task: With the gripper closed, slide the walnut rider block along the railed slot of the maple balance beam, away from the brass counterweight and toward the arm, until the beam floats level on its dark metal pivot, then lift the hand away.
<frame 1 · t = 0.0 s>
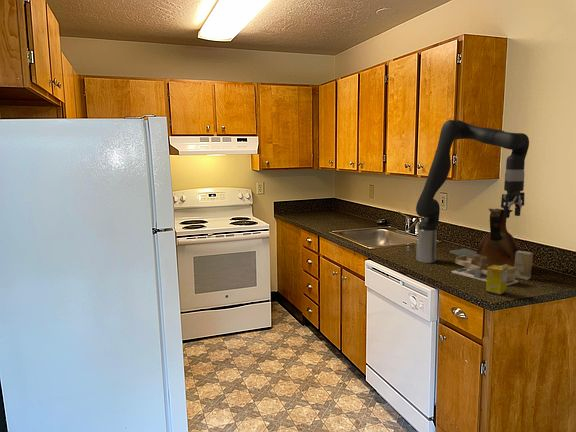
hand: (512, 216, 190), 29 cm above the worktop, fingers open, 8 cm apart
rider: (478, 266, 202), point 5 cm above the worktop, tilted 7°, touching beam
skincare box: (522, 278, 199), on the worktop
supplement box: (496, 293, 179), on the worktop
ceramic pitcher: (497, 267, 217), on the worktop
stand: (483, 277, 201), on the worktop
soap mold: (468, 257, 241), on the worktop
beam: (484, 265, 200), point 6 cm above the worktop, hinge at 7.0°, touching rider
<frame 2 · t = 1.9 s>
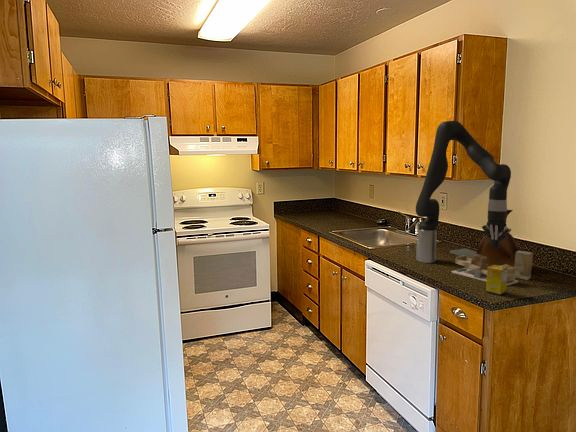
hand: (495, 247, 194), 15 cm above the worktop, fingers closed
nothing on the worktop moved.
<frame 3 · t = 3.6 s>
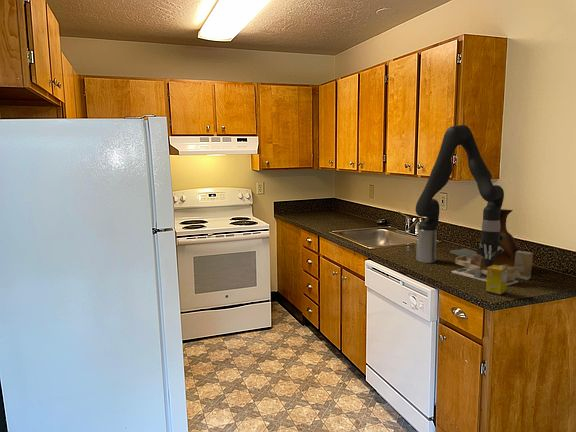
hand: (489, 266, 198), 5 cm above the worktop, fingers closed
rider: (477, 266, 203), point 5 cm above the worktop, tilted 6°, touching beam, gripper
beam: (484, 265, 200), point 6 cm above the worktop, hinge at 6.5°, touching rider
everything else where it was.
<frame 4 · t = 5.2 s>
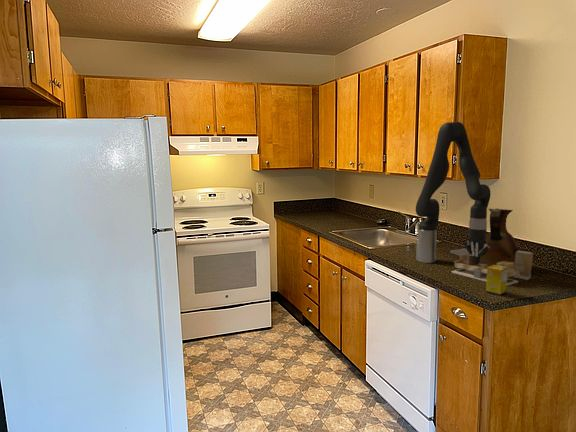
hand: (476, 263, 203), 6 cm above the worktop, fingers closed
rider: (466, 265, 207), point 4 cm above the worktop, touching beam, gripper
beam: (483, 264, 200), point 6 cm above the worktop, hinge at -2.1°, touching rider
everything else where it was.
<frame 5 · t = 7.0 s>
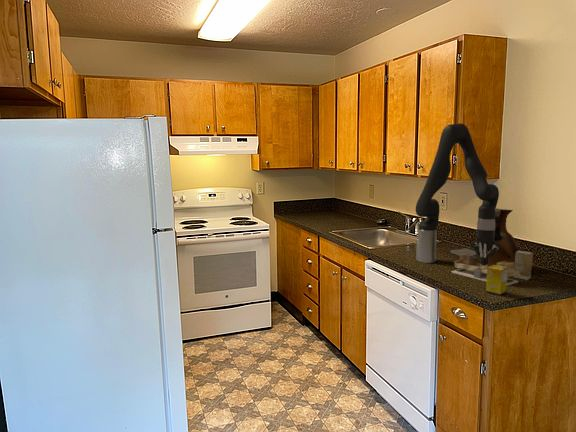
hand: (484, 265, 200), 6 cm above the worktop, fingers closed
rider: (466, 265, 207), point 4 cm above the worktop, touching beam
everything else where it was.
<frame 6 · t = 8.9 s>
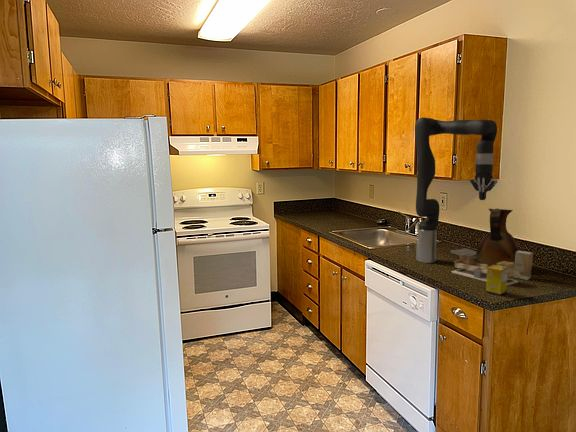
hand: (482, 199, 205), 35 cm above the worktop, fingers closed
nothing on the worktop moved.
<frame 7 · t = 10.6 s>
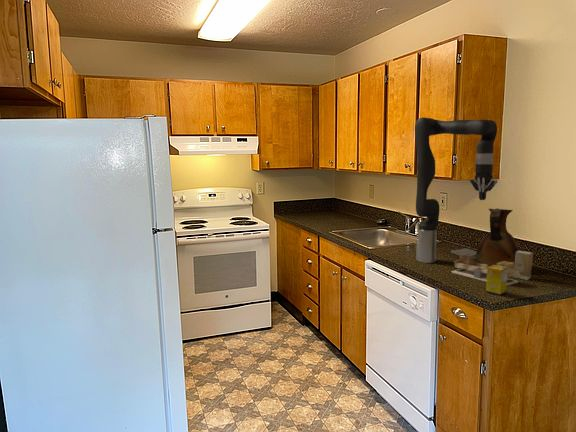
hand: (482, 199, 205), 35 cm above the worktop, fingers closed
nothing on the worktop moved.
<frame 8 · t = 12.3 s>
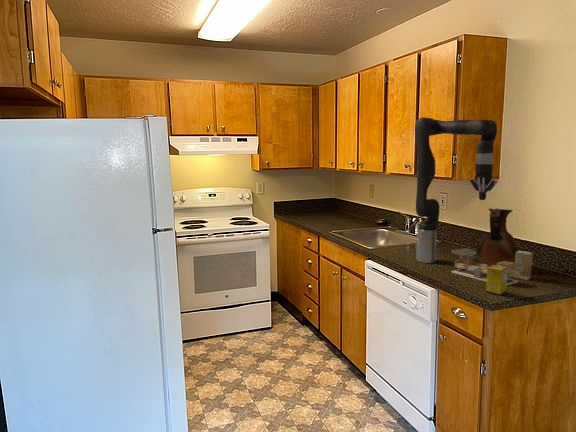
hand: (482, 199, 205), 35 cm above the worktop, fingers closed
nothing on the worktop moved.
at the end: beam at -2° (first picture: +7°); rider 0.8 cm from the target spot on the beam, point 0.9 cm above the beam's base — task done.
